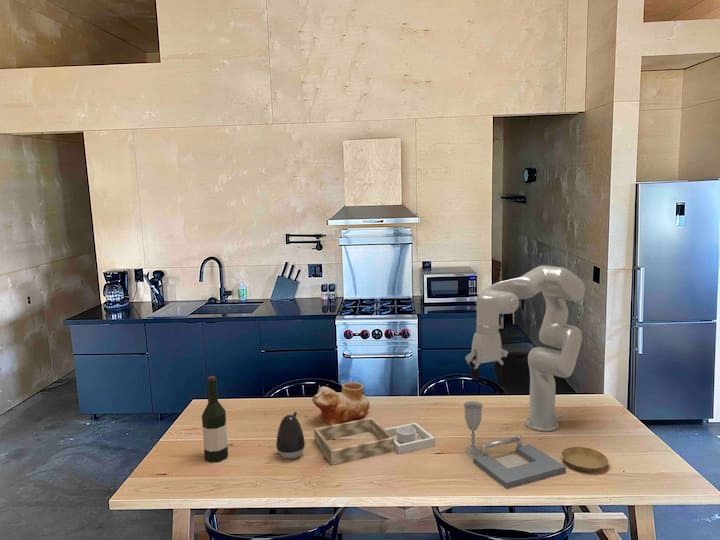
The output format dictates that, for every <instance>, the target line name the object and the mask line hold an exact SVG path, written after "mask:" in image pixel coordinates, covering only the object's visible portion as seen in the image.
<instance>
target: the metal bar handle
mask: <svg viewBox="0 0 720 540" xmlns="http://www.w3.org/2000/svg"><path fill="white" fill-rule="evenodd" d="M522 436H523V435H520V434H519V435H518V434H517V435H516V436H513V437H509V438H505V439H500V440H496V441H493V442H487V443H481V455H483V456H486V454H487V449H491V448H495V447H499V446H504V445H508V444H511V443H515V442H516V447H521V446H522V441H523V440H522V439H523V438H522Z"/></svg>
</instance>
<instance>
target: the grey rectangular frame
mask: <svg viewBox="0 0 720 540" xmlns="http://www.w3.org/2000/svg"><path fill="white" fill-rule="evenodd" d="M515 453H516V454H517V455H519V456H520V457H521V458H522V459H525V460H526V461H527V464H523V465H519V466H515V467H511V468H506V467H505V466H504V465H502V464H501V463H500V462H498V461H497V460H495V459H496V458H494V457H493V456H492V455H490V454H489V453H486V456H483V455H482V454H480V455H479V456H472V463H473V464H474V465H475V466H476V467H478V468H479V469H480V470H482V471H483V472H484V473H485V474H487V475H488V476H489V477H490V478H492V479H493V480H494V481H495V482H497V483H498V484H500V485H501V486H502V487H503V488H504V489H506V490H507V489H511V488H515V487H518V486H521V485H526V484H528V483H532V482H535V481H536V482H537V481H540V480H543V479H548V478H551V477H554V476H557V475H560V474H561V475H562V474H564V473H565V474H566V470H567V467H566V465H564V464H562V463H561V462H559V461H558V460H555V459H554V458H553V457H551V456H550V455H548V454H546V453H545V452H543V451H541V450H540V449H538V448H537V447H535V446H534V445H532V444H530V443H527V444H523V445H522V444H521V447H517V446H516V447H515Z"/></svg>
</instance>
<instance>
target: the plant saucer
mask: <svg viewBox="0 0 720 540" xmlns="http://www.w3.org/2000/svg"><path fill="white" fill-rule="evenodd" d="M561 457H562V459H563V460H564V462H565V463H566V464H568V466H570V467H571V468H573V469H575V470H578V471H582V472H588V473H589V472H590V473H593V472H597V471H600V470H602V469H603V468H605V467H606V466H607V465H608V464H609V459H608V457H607V456H606V455H605V454H603V453H602V452H600V451H598V450H595V449H593V448H589V447H583V446H582V447H581V446H571V447H567V448H565V449H563V450H562V451H561Z"/></svg>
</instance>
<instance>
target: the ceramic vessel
mask: <svg viewBox="0 0 720 540" xmlns="http://www.w3.org/2000/svg"><path fill="white" fill-rule="evenodd" d="M363 392H364V385H363V384H362V383H360V382H346V383H345V382H344V383H343V384H342V385H341V392H337V391H335V390H334V389H332V388H330V387H328V386H320V387H319V388H318V390H317V393H316V394H315V395H313V397H312V399H311V400H312V403H313V405H315V406H316V407H317V408H318V409H320V414H319V416H318V417H319V420H320V421H321V422H322V423H323V424H324V425H327V426H331V425H336V424H341V423H347V422H352V421H357V420H362V419H365V416H366V414H367V412H368V411H369V408H370V401H369V399H368V397H367V396H366V395H365V394H363Z"/></svg>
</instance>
